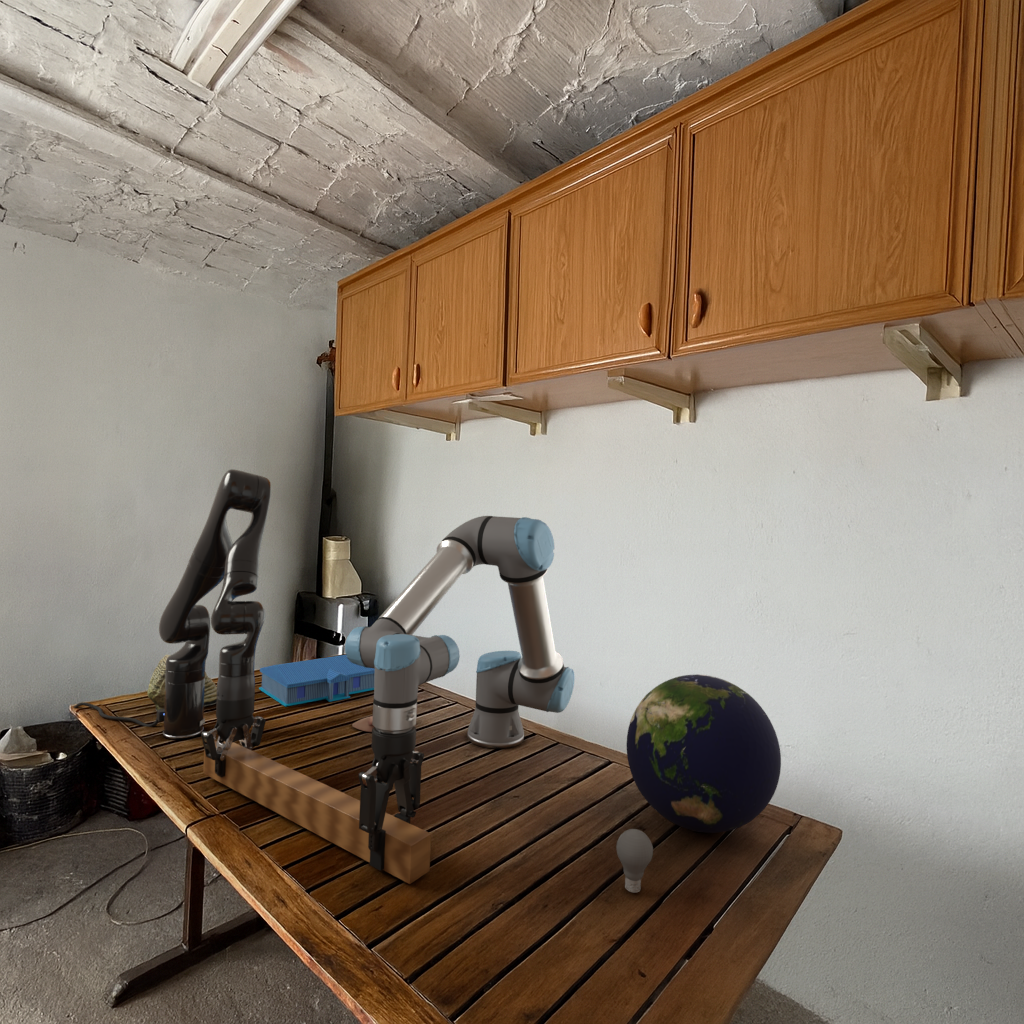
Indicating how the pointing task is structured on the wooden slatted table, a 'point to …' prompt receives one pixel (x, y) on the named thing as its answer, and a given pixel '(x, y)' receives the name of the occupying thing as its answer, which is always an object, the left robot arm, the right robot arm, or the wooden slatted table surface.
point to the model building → (316, 680)
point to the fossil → (158, 687)
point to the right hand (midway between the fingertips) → (388, 859)
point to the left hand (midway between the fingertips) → (233, 771)
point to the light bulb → (634, 857)
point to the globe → (703, 753)
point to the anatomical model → (364, 724)
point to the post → (322, 810)
